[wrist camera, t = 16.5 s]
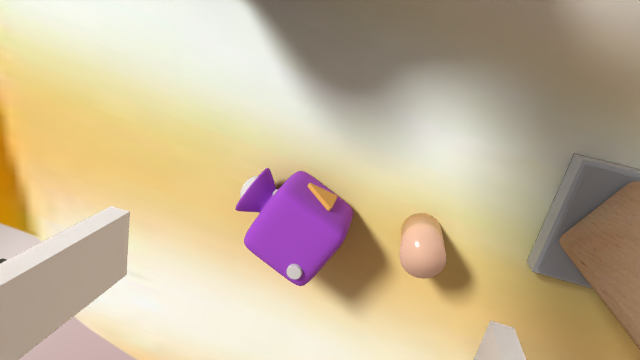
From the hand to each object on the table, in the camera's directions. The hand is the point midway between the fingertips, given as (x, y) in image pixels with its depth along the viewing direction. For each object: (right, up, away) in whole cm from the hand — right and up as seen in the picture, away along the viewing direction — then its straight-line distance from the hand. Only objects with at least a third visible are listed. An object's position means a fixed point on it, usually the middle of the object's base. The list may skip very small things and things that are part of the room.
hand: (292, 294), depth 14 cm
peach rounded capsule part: (+14, -3, +37) cm, 40 cm away
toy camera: (-2, +1, +40) cm, 40 cm away
